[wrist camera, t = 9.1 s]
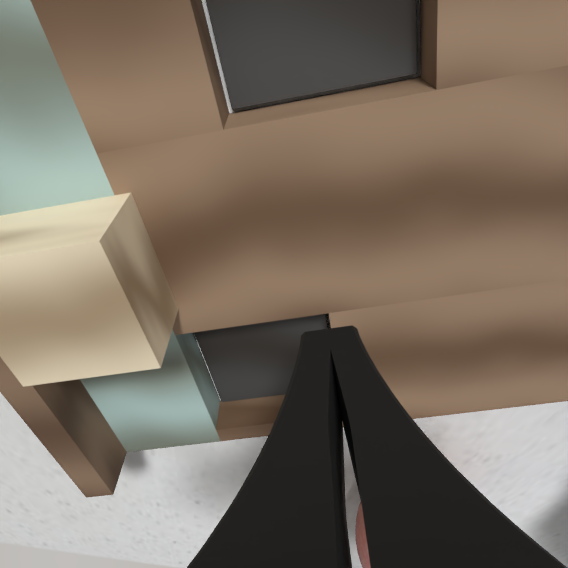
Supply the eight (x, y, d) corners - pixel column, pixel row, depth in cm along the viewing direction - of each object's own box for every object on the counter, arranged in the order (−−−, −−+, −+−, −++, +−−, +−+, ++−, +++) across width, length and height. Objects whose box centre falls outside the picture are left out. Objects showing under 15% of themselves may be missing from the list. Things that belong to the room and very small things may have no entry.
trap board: (551, 371, 25) (598, 442, 21) (112, 425, 27) (86, 497, 24) (718, -339, 11) (945, -496, 7) (-218, -90, 13) (-409, -110, 10)
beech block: (178, 308, 19) (160, 368, 17) (59, 326, 20) (23, 386, 17) (130, 192, 16) (99, 240, 13) (-9, 217, 17) (-67, 268, 14)
